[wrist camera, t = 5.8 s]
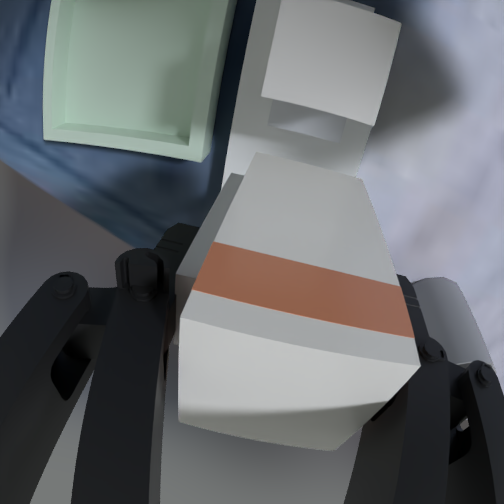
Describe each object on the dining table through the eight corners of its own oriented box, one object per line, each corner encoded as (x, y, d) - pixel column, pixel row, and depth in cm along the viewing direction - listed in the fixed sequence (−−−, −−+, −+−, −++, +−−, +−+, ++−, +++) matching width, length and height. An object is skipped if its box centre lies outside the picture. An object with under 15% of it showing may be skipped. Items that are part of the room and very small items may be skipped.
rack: (260, -4, 16) (249, -23, 12) (392, 30, 16) (419, 23, 12) (214, 255, 29) (197, 296, 24) (313, 278, 29) (314, 323, 24)
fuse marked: (256, 151, 13) (179, 316, 5) (362, 179, 12) (421, 365, 5) (238, 241, 15) (178, 421, 8) (330, 264, 15) (334, 451, 8)
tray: (74, -21, 15) (56, -24, 13) (244, -29, 15) (237, -38, 13) (61, 131, 23) (43, 139, 21) (210, 151, 23) (201, 162, 21)
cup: (432, 262, 26) (468, 347, 18) (475, 299, 27) (509, 375, 19) (371, 318, 30) (383, 405, 22) (420, 346, 32) (437, 423, 24)
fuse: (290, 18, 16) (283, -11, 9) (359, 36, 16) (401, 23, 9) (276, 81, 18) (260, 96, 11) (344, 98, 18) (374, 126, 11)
